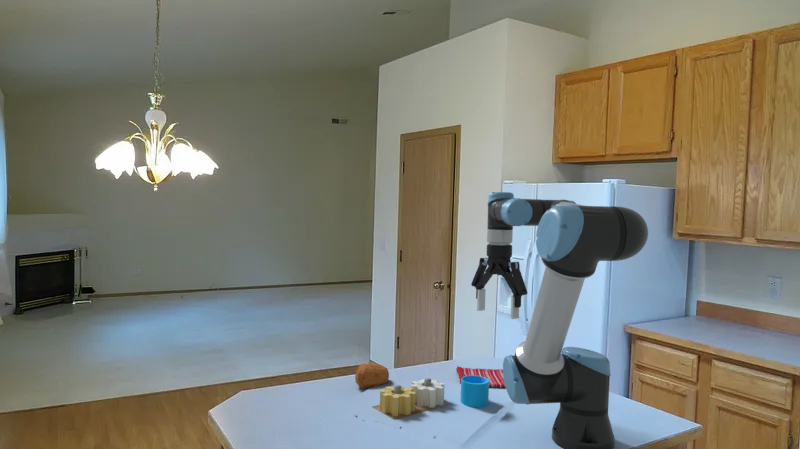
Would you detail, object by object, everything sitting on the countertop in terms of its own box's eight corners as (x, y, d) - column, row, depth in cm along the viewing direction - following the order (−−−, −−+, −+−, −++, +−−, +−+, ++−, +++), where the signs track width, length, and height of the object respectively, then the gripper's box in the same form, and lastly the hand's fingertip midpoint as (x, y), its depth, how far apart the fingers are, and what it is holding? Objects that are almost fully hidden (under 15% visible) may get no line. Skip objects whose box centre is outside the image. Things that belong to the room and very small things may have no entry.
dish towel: (455, 372, 197) (455, 365, 197) (522, 374, 196) (522, 367, 196) (458, 388, 180) (458, 380, 180) (531, 391, 179) (532, 383, 179)
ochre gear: (412, 417, 149) (413, 398, 149) (377, 414, 151) (377, 396, 151) (416, 404, 159) (417, 387, 159) (383, 401, 160) (383, 384, 160)
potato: (351, 383, 181) (352, 360, 181) (384, 380, 184) (385, 358, 184) (358, 392, 172) (358, 368, 172) (392, 389, 175) (393, 366, 175)
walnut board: (452, 408, 160) (453, 381, 160) (394, 424, 148) (395, 395, 147) (427, 397, 169) (428, 371, 169) (371, 411, 156) (372, 384, 156)
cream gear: (449, 399, 163) (450, 383, 163) (434, 410, 155) (435, 392, 155) (420, 393, 168) (420, 377, 168) (404, 403, 160) (404, 386, 160)
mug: (490, 412, 158) (491, 384, 158) (462, 412, 158) (462, 384, 158) (483, 398, 170) (484, 371, 170) (457, 397, 170) (458, 371, 170)
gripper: (541, 246, 157) (538, 320, 158) (478, 240, 177) (476, 306, 178) (524, 247, 153) (521, 323, 154) (461, 241, 173) (459, 308, 173)
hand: (497, 314), depth 166 cm, fingers open, 13 cm apart
